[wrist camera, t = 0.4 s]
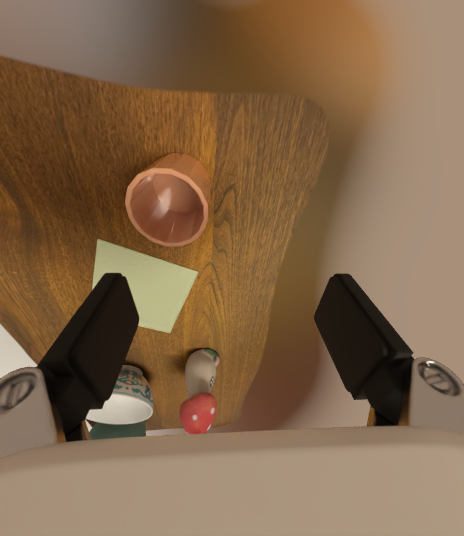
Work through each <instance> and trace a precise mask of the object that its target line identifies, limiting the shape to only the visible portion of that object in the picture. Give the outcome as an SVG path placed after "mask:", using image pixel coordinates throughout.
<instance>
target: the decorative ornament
mask: <svg viewBox="0 0 464 536" xmlns="http://www.w3.org/2000/svg"><path fill="white" fill-rule="evenodd" d="M218 364H219V356H218V354H217V353H216V351H214V350H211V349H205V348H204V349H201V350H198V351H195V352H193V353H192V354H191V355H190V357H189V358H188V361H187V364H186V368H185V382H186V388H187V392H188V399H187V400H186V401H184V402H183V403H182V404H181V406H180V412H179V415H180V419H181V423H182V425H183V427H184V429H185V431H186V433H187V434H204V433H206V432H207V430H208V429H209V428H210V426H211V424H212V422H213V420H214V418H215V415H216V410H217V404H216V402H215V398H214V397H213V396H212V395H211V394H210V392H211V389H212V387H213V384H214V380H215V375H216V366H217V365H218Z"/></svg>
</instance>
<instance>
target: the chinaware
mask: <svg viewBox="0 0 464 536" xmlns="http://www.w3.org/2000/svg"><path fill="white" fill-rule="evenodd" d="M142 375H143V373H142V371H141V370H140V369H138V368H136V367H134V366H130V365H123V366H122V369H121V371H120V374H119V377H118V379H117V382H116V385H115V387H114V390H113V392H112V395H111V397H110V399H109V400H107V401H105V403H104V405H103V408H102V409H95V410H89V412H88V414H87V417H86V419H88V420H91V421H95V422H100V423H107V424H132V423H137V422H141V421H144V420H146V419H148V418H149V417H150V416H151V415H152V413H153V395H152V390H151V387H150V385H149V383H148V382H147V380H146V379H145V378H144V377H143V376H142Z"/></svg>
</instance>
